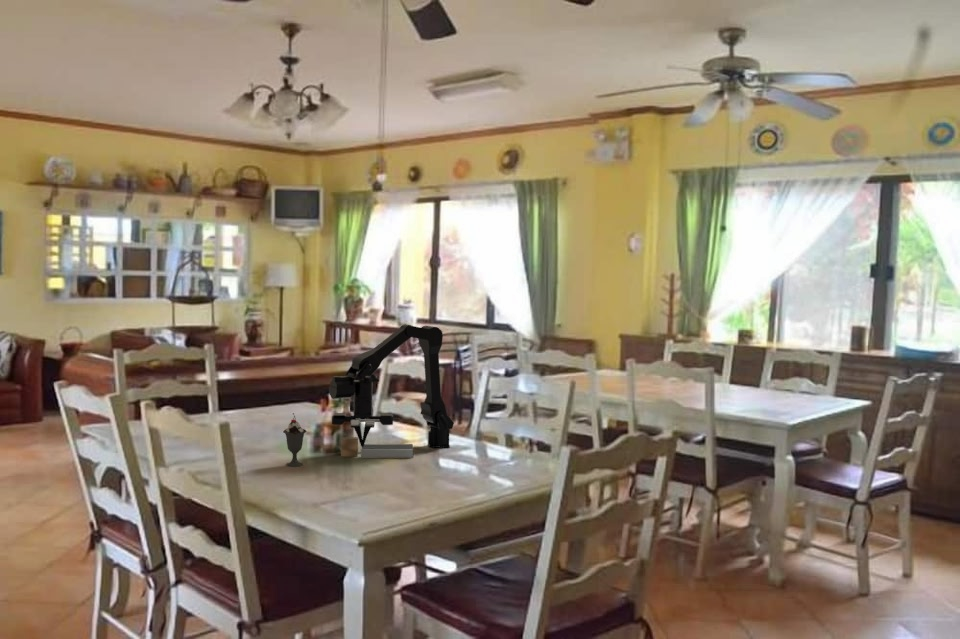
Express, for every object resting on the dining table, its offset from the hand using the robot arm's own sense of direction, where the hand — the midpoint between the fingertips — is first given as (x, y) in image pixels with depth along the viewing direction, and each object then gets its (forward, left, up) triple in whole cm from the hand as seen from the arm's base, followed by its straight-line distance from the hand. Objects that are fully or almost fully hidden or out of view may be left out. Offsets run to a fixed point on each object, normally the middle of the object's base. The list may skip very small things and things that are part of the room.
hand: (362, 446), depth 264 cm
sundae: (+19, +13, -3) cm, 23 cm away
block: (+4, 0, -3) cm, 5 cm away
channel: (-8, 0, -3) cm, 8 cm away
